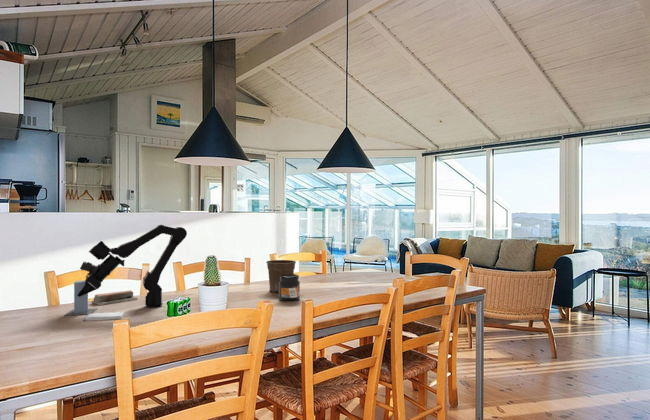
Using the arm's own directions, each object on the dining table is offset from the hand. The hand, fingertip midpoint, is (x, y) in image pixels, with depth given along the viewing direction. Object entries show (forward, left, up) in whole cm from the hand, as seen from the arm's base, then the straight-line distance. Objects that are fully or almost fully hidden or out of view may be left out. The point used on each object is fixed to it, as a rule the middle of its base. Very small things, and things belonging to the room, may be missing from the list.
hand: (78, 294), depth 192 cm
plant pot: (-92, -32, -8) cm, 98 cm away
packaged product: (-10, -22, -9) cm, 26 cm away
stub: (-1, 0, -8) cm, 8 cm away
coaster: (-1, 0, -8) cm, 8 cm away
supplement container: (-93, -8, -8) cm, 94 cm away
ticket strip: (-13, +12, -8) cm, 20 cm away
